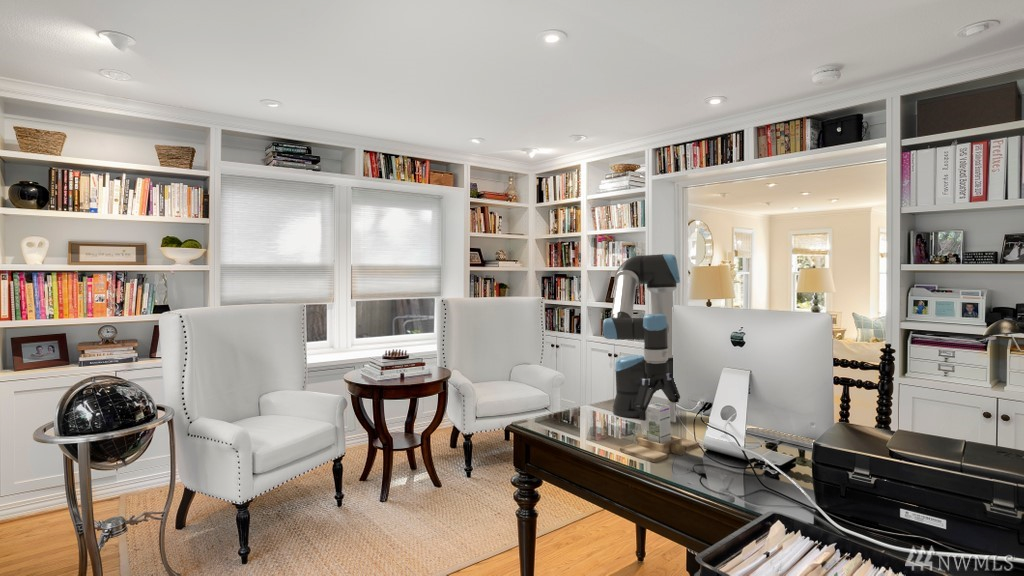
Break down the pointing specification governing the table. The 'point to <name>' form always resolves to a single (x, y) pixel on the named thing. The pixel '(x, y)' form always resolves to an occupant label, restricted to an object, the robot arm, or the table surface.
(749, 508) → the table surface
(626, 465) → the table surface
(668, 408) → the syrup box
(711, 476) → the table surface
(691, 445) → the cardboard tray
